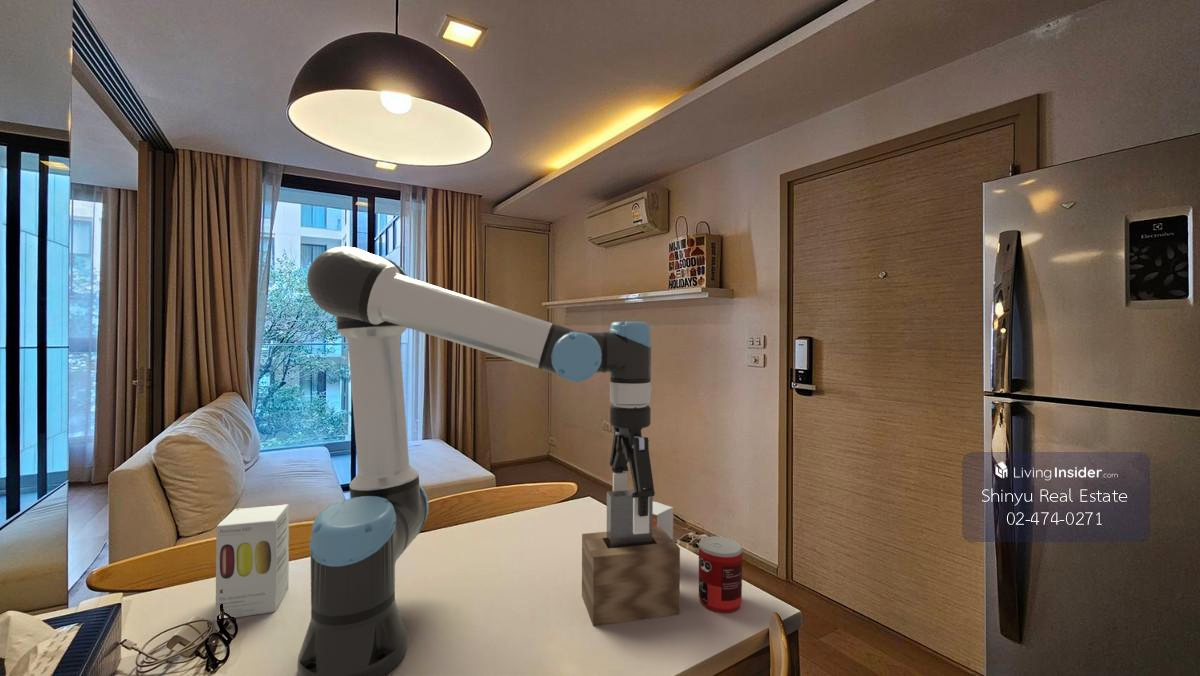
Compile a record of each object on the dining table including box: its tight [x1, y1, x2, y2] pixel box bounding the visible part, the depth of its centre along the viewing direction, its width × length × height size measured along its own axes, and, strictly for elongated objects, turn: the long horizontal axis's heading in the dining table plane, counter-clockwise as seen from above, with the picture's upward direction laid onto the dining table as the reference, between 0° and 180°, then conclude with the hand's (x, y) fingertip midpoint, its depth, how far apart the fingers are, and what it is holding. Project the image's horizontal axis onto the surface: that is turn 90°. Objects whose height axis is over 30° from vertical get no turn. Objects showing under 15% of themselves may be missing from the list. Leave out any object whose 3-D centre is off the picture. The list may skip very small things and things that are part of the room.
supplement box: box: [214, 503, 290, 621], centre depth 92 cm, size 10×9×17 cm
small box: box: [652, 501, 674, 541], centre depth 108 cm, size 8×6×13 cm
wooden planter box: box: [581, 527, 681, 627], centre depth 92 cm, size 16×10×12 cm, turn 103°
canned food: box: [698, 535, 743, 614], centre depth 93 cm, size 8×8×11 cm
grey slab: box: [606, 489, 654, 549], centre depth 92 cm, size 8×3×14 cm, turn 103°
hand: (629, 518), depth 92 cm, fingers open, 13 cm apart
